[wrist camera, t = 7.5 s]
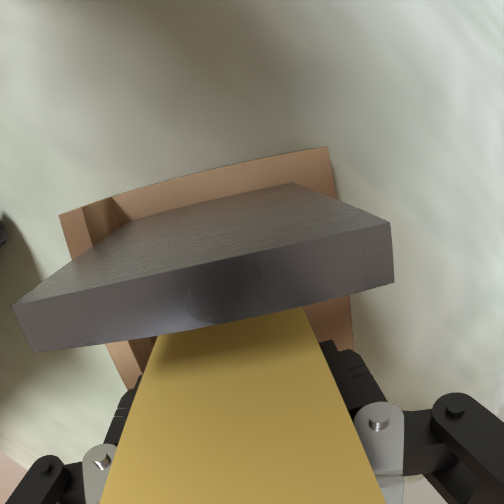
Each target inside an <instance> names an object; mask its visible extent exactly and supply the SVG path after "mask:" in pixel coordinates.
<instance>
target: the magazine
mask: <svg viewBox="0 0 504 504" xmlns="http://www.w3.org/2000/svg"><path fill="white" fill-rule="evenodd" d="M3 226H4V225H3V223H2V222H1V220H0V247H1V245H3V244H5V242H6V240H7V237H8V235H7V233H6V232H5V230H4V229H3Z"/></svg>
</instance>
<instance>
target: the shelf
mask: <svg viewBox="0 0 504 504" xmlns="http://www.w3.org/2000/svg"><path fill="white" fill-rule="evenodd" d="M292 182H294V183H296V184H299V185H302V186H304V187H307V188H309V189H312V190H314V191H317V192H319V193H322V194H324V195H327V196H329V197H332V198H334V199H337V198H336V192H335V186H334V180H333V175H332V169H331V164H330V158H329V153H328V148H327V147H321V148H315V149H309V150H303V151H297V152H292V153H287V154H281V155H276V156H271V157H266V158H261V159H256V160H251V161H247V162H242V163H237V164H233V165H228V166H224V167H220V168H215V169H211V170H207V171H203V172H199V173H195V174H191V175H187V176H183V177H179V178H175V179H171V180H167V181H164V182H160V183H156V184H153V185H149V186H146V187H142V188H139V189H135V190H132V191H128V192H125V193H122V194H118V195H115V196H112V197H109V198H105V199H102V200H99V201H96V202H94V203H91V204H88V205H85V206H82V207H80V208H77V209H74V210H71V211H69V212H66V213H63V214H61V215H59V219H60V222H61V226H62V229H63V233H64V236H65V239H66V242H67V246H68V249H69V252H70V255H71V258H72V260H73V259H75V258H76V257H78V256H79V255H80V254H82V253H83V252H85V251H86V250H88V249H89V248H91V247H92V246H94V245H95V244H97V243H98V242H100V241H101V240H103V239H104V238H106V237H107V236H109V235H110V234H112V233H113V232H115V231H116V230H118V229H119V228H121V227H122V226H124V225H126V224H127V223H129V222H130V221H132V220H134V219H138V218H142V217H146V216H149V215H153V214H157V213H161V212H165V211H169V210H173V209H177V208H181V207H185V206H189V205H193V204H197V203H201V202H205V201H209V200H214V199H218V198H222V197H227V196H231V195H236V194H240V193H245V192H249V191H254V190H258V189H263V188H268V187H273V186H278V185H282V184H287V183H292ZM302 308H303V310H304V312H305V315H306V317H307V319H308V321H309V323H310V326H311V328H312V330H313V332H314V335H315V337H316V339H317V341H318V342H322V341H326V340H330V339H332V340H333V341H334V343H335V345H336V347H337V349H338V351H343V350H346V349H351V350H352V351H354V348H353V334H352V321H351V309H350V299H349V295H346V296H342V297H338V298H334V299H330V300H326V301H322V302H318V303H314V304H310V305H306V306H302ZM157 337H158V336H152V337H146V338H139V339H133V340H126V341H120V342H113V343H106V344H105V345H106V347H107V349H108V351H109V354H110V356H111V358H112V360H113V362H114V364H115V366H116V368H117V370H118V372H119V374H120V376H121V378H122V380H123V382H124V384H125V386H126V388H127V390H129V389H134V387H135V384H136V382H137V379H138V377H139V375H143V374H144V371H145V368H146V366H147V363H148V360H149V358H150V355H151V353H152V350H153V348H154V345H155V342H156V340H157Z"/></svg>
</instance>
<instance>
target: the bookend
mask: <svg viewBox="0 0 504 504" xmlns="http://www.w3.org/2000/svg"><path fill="white" fill-rule="evenodd" d="M390 283H394V267H393V252H392V239H391V228H390V222H388V221H386V220H384V219H381V218H379V217H377V216H374V215H372V214H370V213H368V212H365V211H363V210H361V209H358V208H356V207H354V206H351V205H349V204H346V203H344V202H342V201H339V200H337V199H334V198H332V197H329V196H327V195H324V194H322V193H319V192H317V191H314V190H312V189H309V188H307V187H304V186H302V185H299V184H296V183H294V182H292V183H287V184H282V185H278V186H273V187H268V188H263V189H258V190H254V191H249V192H245V193H240V194H236V195H231V196H227V197H222V198H218V199H214V200H209V201H205V202H201V203H197V204H193V205H189V206H185V207H181V208H177V209H173V210H169V211H165V212H161V213H157V214H153V215H149V216H146V217H142V218H138V219H134V220H132V221H130V222H129V223H127V224H126V225H124V226H122V227H121V228H119V229H118V230H116V231H115V232H113V233H112V234H110V235H109V236H107V237H106V238H104V239H103V240H101V241H100V242H98V243H97V244H95V245H94V246H92V247H91V248H89V249H88V250H86V251H85V252H83V253H82V254H80V255H79V256H78V257H76V258H75V259H73V260H72V261H70V262H69V263H68V264H66V265H65V266H63V267H62V268H61V269H59V270H58V271H56V272H55V273H54V274H52V275H51V276H50V277H48V278H47V279H46V280H44V281H43V282H42V283H40V284H39V285H38V286H36V287H35V288H34V289H32V290H31V291H30V292H28V293H27V294H26V295H24V296H23V297H22V298H21V299H19V300H18V301H17V302H15V303H14V304H13V305H12V306H11V307H12V309H13V312H14V314H15V316H16V318H17V321H18V323H19V325H20V327H21V329H22V332H23V334H24V336H25V338H26V340H27V342H28V344H29V346H30V348H31V350H32V352H40V351H50V350H59V349H67V348H76V347H84V346H91V345H99V344H106V343H113V342H120V341H126V340H133V339H139V338H146V337H152V336H158V335H164V334H170V333H175V332H181V331H187V330H192V329H197V328H203V327H208V326H213V325H218V324H223V323H228V322H233V321H238V320H243V319H248V318H253V317H257V316H262V315H266V314H271V313H275V312H280V311H284V310H289V309H293V308H297V307H301V306H306V305H310V304H314V303H318V302H322V301H326V300H330V299H334V298H338V297H342V296H346V295H350V294H353V293H357V292H361V291H365V290H368V289H372V288H376V287H379V286H383V285H387V284H390Z"/></svg>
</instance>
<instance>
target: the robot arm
mask: <svg viewBox="0 0 504 504" xmlns="http://www.w3.org/2000/svg"><path fill="white" fill-rule="evenodd" d="M318 344H319V346H320V348H321V350H322V353H323V355H324V357H325V360H326V362H327V364H328V366H329V369H330V371H331V373H332V376H333V378H334V380H335V382H336V385H337V387H338V389H339V392H340V394H341V396H342V399H343V401H344V403H345V406H346V408H347V410H348V413H349V415H350V417H351V420H352V422H353V424H354V427H355V429H356V431H357V434H358V436H359V439H360V441H361V443H362V446H363V448H364V451H365V453H366V455H367V458H368V460H369V463H370V465H371V467H372V470H373V472H374V475H375V477H376V480H377V482H378V485H379V487H380V490H381V492H382V494H383V497H384V499H385V502H386V504H402V503H403V491H404V476H411V475H419V474H423V476H424V477H425V478H426V479H427V480H428V481H429V482H430V484H432V486H433V487H434V488H435V489H436V490H437V492H438V493H439V494H440V495H441V496H442V497H443V498H444V499H445V501H446V502H447V503H448V504H504V422H502V421H501V420H500V419H499V418H497V417H496V416H495V415H494V414H492V413H491V412H490V411H489V410H487V409H486V408H485V407H483V406H482V405H481V404H480V403H478V402H477V401H476V400H475V399H473V398H472V397H470V396H469V395H467V394H464V393H449V394H446V395H443V396H442V397H440V398H439V399H438V400H437V401H436V402H435V403H434V405H433V408H432V409H428V410H420V411H403V410H401V409H400V408H399V407H398V406H396V405H395V404H392V403H389V402H388V401H387V400H386V398H385V396H384V395H383V393H382V391H381V390H380V388H379V386H378V385H377V383H376V381H375V379H374V378H373V376H372V374H370V371H369V369H368V368H367V366H366V365H365V363H364V361H363V359H362V358H361V356H360V355H359V354H357V353H356V352H354V351H352V350H351V349H346V350H343V351H338V349H337V347H336V345H335V343H334V341H333V340H332V339H330V340H326V341H322V342H318ZM142 376H143V375H139V377H138V379H137V382H136V384H135V387H134V389H129V390H128V391H127V392H126V393H125V394H124V396H123V397H122V398H121V400H120V402H119V405H118V407H117V408H118V410H116V412H115V415H114V417H113V420H112V422H111V425H110V427H109V430H108V432H107V435H106V438H105V440H104V443H103V444H100V445H97V446H95V447H93V448H91V449H90V450H89V451H88V452H87V453H86V454H85V456H84V458H83V461H82V462H77V463H72V464H67V465H64V463H63V462H62V461H61V460H60V459H59V458H58V457H57V456H54V455H46V456H43V457H41V458H39V459H38V460H36V461H35V462H34V464H33V465H32V466H31V468H30V469H29V470H28V472H27V473H26V475H25V476H24V478H23V479H22V480H21V482H20V483H19V485H18V486H17V487H16V489H15V490H14V492H13V493H12V494H11V496H10V497H9V499H8V500H7V502H6V503H5V504H99V503H100V500H101V496H102V493H103V490H104V487H105V483H106V480H107V477H108V474H109V471H110V468H111V465H112V461H113V458H114V455H115V452H116V449H117V446H118V443H119V440H120V438H121V435H122V432H123V429H124V426H125V423H126V420H127V417H128V415H129V412H130V409H131V406H132V403H133V401H134V398H135V395H136V392H137V390H138V387H139V384H140V382H141V379H142Z"/></svg>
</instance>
